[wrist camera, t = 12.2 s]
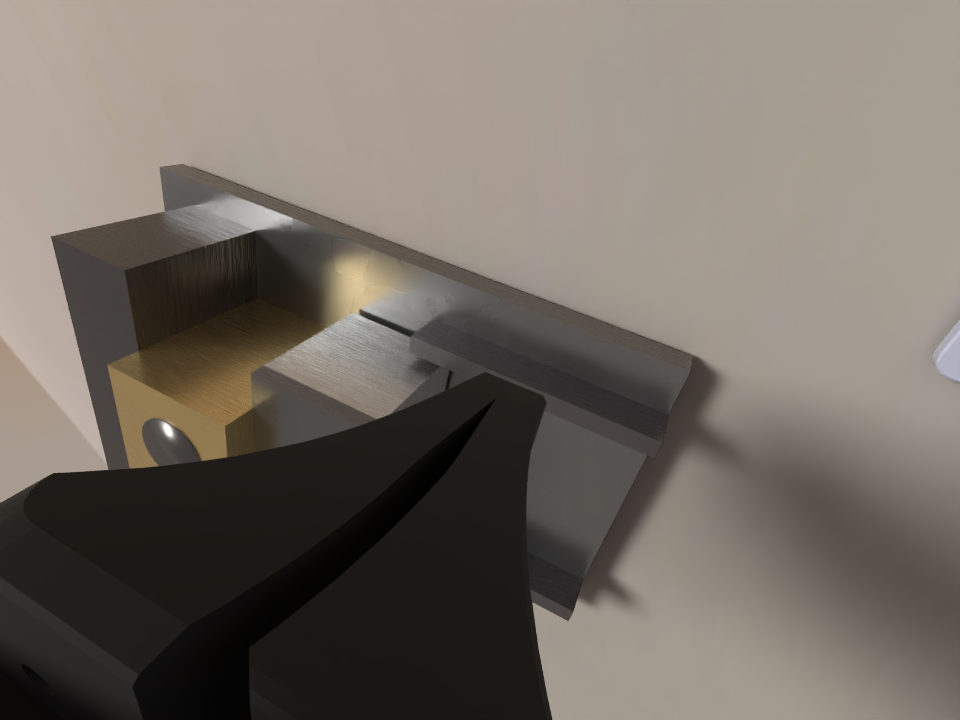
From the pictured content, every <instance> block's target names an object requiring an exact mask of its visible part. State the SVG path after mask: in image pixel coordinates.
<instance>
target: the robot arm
mask: <svg viewBox="0 0 960 720" xmlns="http://www.w3.org/2000/svg"><path fill="white" fill-rule="evenodd" d="M932 360H933V364H934V366H935V367H936V368H937V370H938V371H939V373H940V374H941V375H943V376H944V377H946V378H948V379H951V380H954V381H957V382H959V383H960V319H959V321H958V322H957V323H956V324H955V326H954V327H953V328H952V329H951V331H950V332H949V333H948V334H947V336H946V337H945V338H944V339H943V341H942V342H941V343H940V344H939V346H938V347H937V348H936V350H935V352H934V354H933V356H932ZM546 404H547V402H546V400H545V398H544V396H543V395H540V394H538V393H536V392H533V391H531V390H528V389H526V388H523V387H521V386H518V385H516V384H514V383H511V382H509V381H506V380H504V379H501V378H499V377H497V376H494V375H492V374H489V373H487V372H484V373H481V374H479V375H477V376H475V377H472V378H470V379H468V380H466V381H464V382H462V383H460V384H458V385H456V386H453V387H451V388H449V389H447V390H445V391H443V392H441V393H439V394H436V395H434V396H432V397H430V398H427V399H425V400H423V401H421V402H418V403H416V404H414V405H411V406H409V407H407V408H405V409H402V410H400V411H397V412H395V413H392V414H389V415H387V416H384V417H381V418H379V419H376V420H373V421H371V422H368V423H365V424H363V425H360V426H357V427H354V428H351V429H348V430H344V431H341V432H338V433H334V434H331V435H327V436H324V437H320V438H316V439H313V440H309V441H305V442H301V443H297V444H292V445H287V446H282V447H277V448H273V449H268V450H263V451H258V452H253V453H248V454H243V455H238V456H232V457H225V458H219V459H212V460H205V461H198V462H190V463H182V464H173V465H165V466H155V467H145V468H130V469H116V470H102V471H86V472H70V473H53V474H51V475H49V476H47V477H46V478H44V479H42V480H40V481H38V482H37V483H35V484H33V485H31V486H30V487H28V488H26V489H25V490H23V491H21V492H19V493H17V494H15V495H14V496H12V497H10V498H8V499H7V500H5V501H3V502H1V503H0V720H552V716H551V711H550V706H549V702H548V697H547V692H546V687H545V681H544V676H543V671H542V665H541V660H540V654H539V649H538V642H537V635H536V627H535V620H534V613H533V605H532V598H531V591H530V581H529V568H528V555H527V532H526V504H527V481H528V470H529V461H530V453H531V450H532V447H533V444H534V441H535V438H536V435H537V431H538V428H539V425H540V422H541V419H542V416H543V413H544V410H545V407H546Z"/></svg>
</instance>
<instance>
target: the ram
mask: <svg viewBox="0 0 960 720" xmlns="http://www.w3.org/2000/svg"><path fill="white" fill-rule="evenodd" d="M410 339H411V337H409V336H407V335H405V334H402V333H400V332H398V331H395V330H393V329H391V328H388V327H386V326H383V325H381V324H379V323H376V322H374V321H372V320H369V319H367V318H365V317H362V316H360V315H357V314H355V313H351V314H350V315H348V316H346V317H345V318H343V319H341V320H340V321H338V322H336V323H335V324H333V325H331V326H330V327H328V328H326V329H324V330H323V331H321V332H319V333H318V334H316V335H314V336H313V337H311V338H309V339H308V340H306V341H304V342H302V343H301V344H299V345H297V346H296V347H294V348H292V349H291V350H289V351H287V352H286V353H284V354H282V355H280V356H279V357H277V358H275V359H274V360H272V361H270V362H269V363H267V364H265V365H264V366H262V367H260V368H258V369H257V370H255V371H253V372H252V373H251V393H252V419H253V446H254V452H258V451H263V450H268V449H273V448H277V447H282V446H287V445H292V444H297V443H301V442H305V441H309V440H313V439H316V438H320V437H324V436H327V435H331V434H334V433H338V432H341V431H344V430H348V429H351V428H354V427H357V426H360V425H363V424H365V423H368V422H371V421H373V420H376V419H379V418H381V417H384V416H387V415H389V414H392V413H395V412H397V411H400V410H402V409H405V408H407V407H409V406H411V405H414V404H416V403H418V402H421V401H423V400H425V399H427V398H430V397H432V396H434V395H436V394H439V393H441V392H443V391H445V388H446V383H447V378H448V374H449V370H448V369H446V368H444V367H441V366H439V365H437V364H434V363H432V362H430V361H427V360H425V359H423V358H420V357H418V356H416V355H414V354H411V353H409V352H408V351H409V345H410Z"/></svg>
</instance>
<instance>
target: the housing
mask: <svg viewBox="0 0 960 720" xmlns="http://www.w3.org/2000/svg"><path fill="white" fill-rule="evenodd" d="M324 329H326V328H324V327H321V326H319V325H317V324H315V323H312V322H310V321H308V320H305V319H303V318H301V317H299V316H296V315H294V314H292V313H289V312H287V311H285V310H283V309H280V308H278V307H276V306H274V305H271V304H269V303H267V302H264V301H262V300H260V299H258V298H257V299H255V300H253V301H251V302H248V303H246V304H244V305H242V306H239V307H237V308H235V309H233V310H230V311H228V312H226V313H224V314H221V315H219V316H217V317H214V318H212V319H210V320H208V321H205V322H203V323H201V324H199V325H196V326H194V327H192V328H190V329H187V330H185V331H183V332H181V333H178V334H176V335H174V336H172V337H169V338H167V339H165V340H163V341H160V342H158V343H156V344H154V345H151V346H149V347H147V348H145V349H142V350H140V351H138V352H135V353H133V354H131V355H129V356H126V357H124V358H122V359H120V360H117V361H115V362H113V363H111V364H108V365H107V366H108V370H109V375H110V380H111V384H112V389H113V393H114V398H115V403H116V407H117V412H118V416H119V421H120V426H121V430H122V435H123V440H124V444H125V449H126V453H127V458H128V463H129V467H130V468H145V467H155V466H165V465H173V464H182V463H190V462H198V461H205V460H212V459H219V458H225V457H232V456H238V455H243V454H248V453H253V452H254V446H253V419H252V393H251V373H252V372H253V371H255V370H257V369H258V368H260V367H262V366H264V365H265V364H267V363H269V362H270V361H272V360H274V359H275V358H277V357H279V356H280V355H282V354H284V353H286V352H287V351H289V350H291V349H292V348H294V347H296V346H297V345H299V344H301V343H302V342H304V341H306V340H308V339H309V338H311V337H313V336H314V335H316V334H318V333H319V332H321V331H323V330H324Z"/></svg>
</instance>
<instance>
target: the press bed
mask: <svg viewBox="0 0 960 720" xmlns="http://www.w3.org/2000/svg"><path fill="white" fill-rule="evenodd" d="M160 174H161V182H162V191H163V199H164V207H165V212H161V213H157V214H152V215H147V216H143V217H138V218H134V219H129V220H125V221H120V222H115V223H111V224H106V225H102V226H97V227H93V228H88V229H83V230H79V231H74V232H70V233H65V234H60V235H56V236H51V238H52V242H53V246H54V250H55V254H56V258H57V263H58V267H59V271H60V275H61V279H62V283H63V287H64V291H65V295H66V299H67V303H68V307H69V311H70V315H71V319H72V323H73V327H74V331H75V335H76V339H77V344H78V348H79V352H80V356H81V360H82V364H83V368H84V372H85V376H86V380H87V384H88V388H89V392H90V396H91V400H92V404H93V408H94V412H95V416H96V420H97V424H98V429H99V433H100V437H101V441H102V445H103V449H104V453H105V457H106V461H107V465H108V469H109V470H116V469H130V467H129V463H128V458H127V453H126V449H125V444H124V440H123V435H122V430H121V426H120V421H119V416H118V412H117V407H116V403H115V398H114V393H113V389H112V384H111V380H110V375H109V370H108V366H107V365H108V364H111V363H113V362H115V361H117V360H120V359H122V358H124V357H126V356H129V355H131V354H133V353H135V352H138V351H140V350H142V349H145V348H147V347H149V346H151V345H154V344H156V343H158V342H160V341H163V340H165V339H167V338H169V337H172V336H174V335H176V334H178V333H181V332H183V331H185V330H187V329H190V328H192V327H194V326H196V325H199V324H201V323H203V322H205V321H208V320H210V319H212V318H214V317H217V316H219V315H221V314H224V313H226V312H228V311H230V310H233V309H235V308H237V307H239V306H242V305H244V304H246V303H248V302H251V301H253V300H255V299H257V298H258V299H260V300H262V301H264V302H267V303H269V304H271V305H274V306H276V307H278V308H280V309H283V310H285V311H287V312H289V313H292V314H294V315H296V316H299V317H301V318H303V319H305V320H308V321H310V322H312V323H315V324H317V325H319V326H321V327H324V328H328V327H330V326H331V325H333V324H335V323H336V322H338V321H340V320H341V319H343V318H345V317H346V316H348V315H350V314H351V313H355V314H357V315H360V316H362V317H365V318H367V319H369V320H372V321H374V322H376V323H379V324H381V325H383V326H386V327H388V328H391V329H393V330H395V331H398V332H400V333H402V334H405V335H407V336H409V337H411V339H410V345H409V351H408V352H409V353H411V354H414V355H416V356H418V357H420V358H423V359H425V360H427V361H430V362H432V363H434V364H437V365H439V366H441V367H444V368H446V369H448V370H449V374H448V378H447V383H446V388H445V390H447V389H449V388H451V387H453V386H456V385H458V384H460V383H462V382H464V381H466V380H468V379H470V378H472V377H475V376H477V375H479V374H481V373H484V372H487V373H489V374H492V375H494V376H497V377H499V378H501V379H504V380H506V381H509V382H511V383H514V384H516V385H518V386H521V387H523V388H526V389H528V390H531V391H533V392H536V393H538V394H540V395H543V396H544V398H545V400H546V402H547V404H546V407H545V410H544V413H543V416H542V419H541V422H540V425H539V428H538V431H537V435H536V438H535V441H534V444H533V447H532V450H531V453H530V461H529V470H528V481H527V504H526V532H527V555H528V568H529V581H530V591H531V598H532V602H533V603H535V604H537V605H539V606H541V607H543V608H545V609H547V610H548V611H550V612H552V613H554V614H556V615H558V616H560V617H562V618H563V619H565V620H567V621H569V619H570V617H571V615H572V613H573V611H574V608H575V604H576V601H577V598H578V595H579V591H580V588H581V585H582V582H583V579H584V577H585V575H586V573H587V571H588V569H589V567H590V565H591V563H592V561H593V559H594V557H595V556H596V554H597V552H598V550H599V548H600V546H601V544H602V542H603V540H604V538H605V536H606V534H607V532H608V530H609V528H610V526H611V525H612V523H613V521H614V519H615V517H616V515H617V513H618V511H619V509H620V507H621V505H622V503H623V501H624V499H625V497H626V495H627V494H628V492H629V490H630V488H631V486H632V484H633V482H634V480H635V478H636V476H637V474H638V472H639V470H640V468H641V466H642V464H643V463H644V461H645V459H646V457H647V456H650V457H652V458H655V456H656V454H657V452H658V450H659V449H660V447H661V445H662V443H663V438H664V433H665V428H666V423H667V418H668V414H669V412H670V410H671V408H672V406H673V404H674V402H675V401H676V399H677V397H678V395H679V393H680V391H681V389H682V387H683V385H684V383H685V381H686V379H687V377H688V375H689V373H690V371H691V366H692V359H693V356H691V355H688V354H686V353H683V352H680V351H678V350H675V349H672V348H670V347H667V346H664V345H662V344H659V343H657V342H654V341H651V340H649V339H646V338H643V337H641V336H638V335H635V334H633V333H630V332H627V331H625V330H622V329H619V328H617V327H614V326H611V325H609V324H606V323H603V322H601V321H598V320H595V319H593V318H590V317H588V316H585V315H582V314H580V313H577V312H574V311H572V310H569V309H566V308H564V307H561V306H558V305H556V304H553V303H550V302H548V301H545V300H542V299H540V298H537V297H534V296H532V295H529V294H526V293H524V292H521V291H519V290H516V289H513V288H511V287H508V286H505V285H503V284H500V283H497V282H495V281H492V280H489V279H487V278H484V277H481V276H479V275H476V274H473V273H471V272H468V271H465V270H463V269H460V268H457V267H455V266H452V265H450V264H447V263H444V262H442V261H439V260H436V259H434V258H431V257H428V256H426V255H423V254H420V253H418V252H415V251H412V250H410V249H407V248H404V247H402V246H399V245H396V244H394V243H391V242H388V241H386V240H383V239H381V238H378V237H375V236H373V235H370V234H367V233H365V232H362V231H359V230H357V229H354V228H351V227H349V226H346V225H343V224H341V223H338V222H335V221H333V220H330V219H327V218H325V217H322V216H319V215H317V214H314V213H312V212H309V211H306V210H304V209H301V208H298V207H296V206H293V205H290V204H288V203H285V202H282V201H280V200H277V199H274V198H272V197H269V196H266V195H264V194H261V193H258V192H256V191H253V190H250V189H248V188H245V187H243V186H240V185H237V184H235V183H232V182H229V181H227V180H224V179H221V178H219V177H216V176H213V175H211V174H208V173H205V172H203V171H200V170H197V169H195V168H192V167H189V166H187V165H184V164H179V165H172V166H164V167H160Z"/></svg>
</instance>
